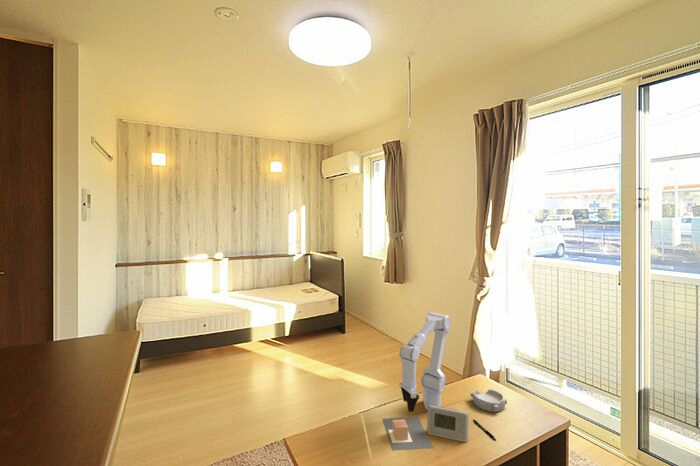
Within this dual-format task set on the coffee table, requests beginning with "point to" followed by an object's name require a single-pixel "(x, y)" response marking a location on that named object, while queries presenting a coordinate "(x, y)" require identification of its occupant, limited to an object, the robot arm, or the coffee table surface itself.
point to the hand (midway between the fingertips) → (408, 406)
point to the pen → (484, 429)
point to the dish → (489, 400)
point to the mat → (415, 435)
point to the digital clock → (447, 423)
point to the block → (400, 429)
